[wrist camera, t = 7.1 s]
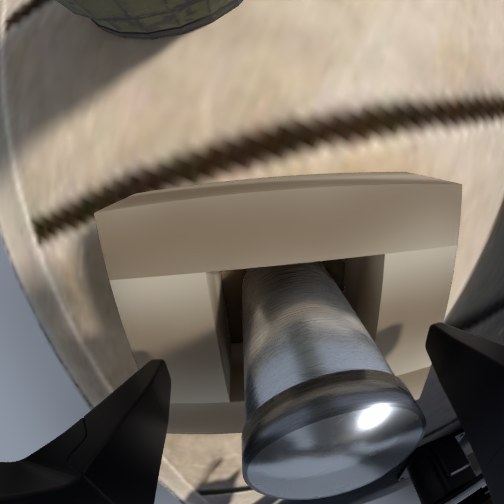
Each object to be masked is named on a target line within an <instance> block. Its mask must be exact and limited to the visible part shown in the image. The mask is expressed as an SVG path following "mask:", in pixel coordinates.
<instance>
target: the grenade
mask: <svg viewBox="0 0 504 504" xmlns="http://www.w3.org/2000/svg"><path fill="white" fill-rule="evenodd" d="M56 1H58V2H59V3H60V4H62V5H63V6H65V7H66V8H68V9H69V10H71V11H72V12H73V13H75V14H78V15H81V16H85V17H88V18H90V19H91V20H93V21H94V22H95V23H96V24H97V25H98V26H99V27H100V28H101V29H103V30H104V31H107V32H110V33H113V34H115V35H118V36H121V37H123V38H141V39H155V38H160V37H165V36H171V35H177V34H183V33H185V32H188V31H190V30H193V29H195V28H198V27H200V26H203V25H206V24H209V23H211V22H214V21H215V20H217V19H218V18H220V17H221V16H223V15H224V14H226V13H227V12H229V11H231V10H232V9H234V8H235V7H237V6H239V4H240V3H241V2H242V1H243V0H56Z"/></svg>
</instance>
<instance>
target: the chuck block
mask: <svg viewBox="0 0 504 504" xmlns="http://www.w3.org/2000/svg"><path fill="white" fill-rule="evenodd" d="M461 198H462V184H458V183H454V182H450V181H445V180H441V179H437V178H432V177H427V176H423V175H418V174H413V173H408V172H372V173H335V174H314V175H296V176H282V177H268V178H256V179H245V180H235V181H225V182H216V183H207V184H199V185H191V186H183V187H176V188H169V189H162V190H155V191H148V192H142V193H136V194H134V195H131V196H129V197H127V198H125V199H123V200H121V201H118V202H116V203H114V204H112V205H110V206H108V207H106V208H104V209H102V210H100V211H97V212H95V213H94V215H95V221H96V226H97V231H98V235H99V240H100V244H101V249H102V253H103V257H104V261H105V265H106V269H107V273H108V277H109V281H110V284H111V288H112V292H113V295H114V298H115V302H116V305H117V308H118V312H119V315H120V318H121V321H122V324H123V327H124V330H125V333H126V336H127V339H128V342H129V345H130V347H131V350H132V353H133V356H134V358H135V361H136V364H137V366H138V369H139V370H140V369H141V368H142V367H143V366H144V365H145V364H147V363H148V362H149V361H150V360H152V359H163V360H164V361H165V362H166V365H167V368H168V371H169V374H170V377H171V395H170V408H169V421H168V428H167V433H174V434H223V433H242V431H243V428H244V426H245V424H246V423H245V391H244V355H243V343H236V344H231V339H230V333H229V326H228V320H227V313H226V306H225V299H224V292H223V285H222V278H221V271H225V270H236V269H246V268H257V267H267V266H277V265H287V264H297V263H307V262H316V261H326V260H335V259H344V258H345V270H344V296H345V298H346V299H347V301H348V302H349V304H350V305H351V307H352V308H353V310H354V311H355V313H356V314H357V316H358V318H359V319H360V321H361V322H362V324H363V325H364V327H365V328H366V330H367V331H368V333H369V335H370V336H371V338H372V339H373V341H374V342H375V344H376V346H377V347H378V349H379V350H380V352H381V353H382V355H383V357H384V358H385V360H386V362H387V363H388V365H389V366H390V368H391V370H392V371H393V373H394V375H395V376H396V377H398V378H400V379H401V380H402V381H403V382H404V383H405V385H406V386H407V388H408V389H409V391H410V393H411V394H412V396H413V398H414V399H415V400H417V399H419V397H420V395H421V392H422V390H423V387H424V384H425V381H426V378H427V376H428V373H429V370H430V367H431V360H430V358H429V356H428V353H427V351H426V348H425V343H426V339H427V335H428V331H429V327H430V325H432V324H434V323H438V322H442V323H443V321H444V317H445V313H446V308H447V304H448V299H449V294H450V289H451V284H452V279H453V273H454V267H455V260H456V253H457V245H458V236H459V227H460V215H461Z"/></svg>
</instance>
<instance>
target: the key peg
mask: <svg viewBox="0 0 504 504" xmlns="http://www.w3.org/2000/svg"><path fill="white" fill-rule="evenodd" d="M242 313H243V355H244V391H245V423H246V424H245V426H244V428H243V431H242V473H243V478H244V480H245V482H246V483H247V485H248V486H249V487H251V488H252V489H253V490H255V491H257V492H259V493H261V494H264V495H266V496H270V497H274V498H279V499H288V500H308V499H318V498H324V497H330V496H334V495H338V494H342V493H345V492H349V491H352V490H354V489H357V488H360V487H362V486H365V485H367V484H369V483H371V482H373V481H375V480H377V479H379V478H381V477H382V476H384V475H386V474H387V473H389V472H390V471H392V470H393V469H395V468H396V467H397V466H399V465H400V464H401V463H402V462H403V461H405V460H406V459H407V458H408V457H409V456H410V455H411V454H412V453H413V452H414V450H415V449H416V448H417V447H418V445H419V444H420V442H421V440H422V438H423V436H424V434H425V430H426V419H425V416H424V415H423V413H422V411H421V409H420V408H419V406H418V404H417V403H416V401H415V399H414V398H413V396H412V394H411V393H410V391H409V389H408V388H407V386H406V385H405V383H404V382H403V381H402V380H401V379H400V378H398V377H396V376H395V375H394V373H393V371H392V370H391V368H390V366H389V365H388V363H387V362H386V360H385V358H384V357H383V355H382V353H381V352H380V350H379V349H378V347H377V346H376V344H375V342H374V341H373V339H372V338H371V336H370V335H369V333H368V331H367V330H366V328H365V327H364V325H363V324H362V322H361V321H360V319H359V318H358V316H357V314H356V313H355V311H354V310H353V308H352V307H351V305H350V304H349V302H348V301H347V299H346V298H345V296H344V295H343V293H342V292H341V290H340V289H339V287H338V286H337V284H336V283H335V282H334V280H333V279H332V277H331V276H330V274H329V273H328V271H327V270H326V268H325V267H324V266H323V264H322V263H321V261H316V262H307V263H297V264H287V265H277V266H267V267H257V268H248V270H247V272H246V274H245V276H244V279H243V283H242Z"/></svg>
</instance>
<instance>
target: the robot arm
mask: <svg viewBox="0 0 504 504" xmlns="http://www.w3.org/2000/svg"><path fill="white" fill-rule="evenodd" d="M425 348H426V351H427V353H428V356H429V358H430V360H431V363H432V365H433V367H434V370H435V372H436V375H437V377H438V379H439V382H440V384H441V386H442V388H443V390H444V392H445V393H446V395H447V397H448V399H449V401H450V403H451V405H452V407H453V409H454V411H455V413H456V415H457V417H458V419H459V421H460V423H461V425H462V428H463V430H461V431H458V432H456V433H454V434H452V435H450V436H448V437H445V438H443V439H441V440H438V441H436V442H434V443H431V444H429V445H426V446H424V447H421V448H419V449H416V450H415V451H414V452H413V453H412V454H411V456H410V457H409V459H408V461H407V463H406V464H405V466H404V467H403V469H402V471H401V472H400V474H399V475H398V477H397V479H398V481H401V480H404V479H406V478H409V477H410V478H411V480H412V483H413V485H414V487H415V489H416V492H417V494H418V497H419V499H420V502H421V504H455V503H457V502H458V501H460V500H461V499H463V498H464V497H466V496H467V495H469V494H470V493H472V492H473V491H475V490H476V489H478V488H479V487H480V486H482V485H483V484H484V483H486V484H487V486H485V487H484V488H480V489H478V490H477V491H476V492H474V493H473V494H471V495H470V496H468V497H467V498H466V499H464V500H462V501H461V502H459V503H457V504H504V346H502V345H500V344H497V343H494V342H492V341H489V340H487V339H484V338H481V337H479V336H476V335H473V334H471V333H468V332H465V331H463V330H460V329H458V328H455V327H452V326H450V325H447V324H444V323H442V322H438V323H434V324H432V325H430V327H429V331H428V335H427V339H426V343H425ZM170 395H171V377H170V374H169V371H168V368H167V365H166V362H165V361H164V360H163V359H152V360H150V361H149V362H148V363H147V364H145V365H144V366H143V367H142V368H141V369H140V370H138V371H137V372H136V373H135V374H134V375H133V376H131V377H130V378H129V379H128V380H127V381H126V382H124V383H123V384H122V385H121V386H120V387H118V388H117V389H116V390H115V391H114V392H113V393H111V394H110V395H109V396H108V397H107V398H105V399H104V400H103V401H102V402H101V403H100V404H98V405H97V406H96V407H95V408H94V409H92V410H91V411H90V412H89V413H88V414H86V415H85V416H84V418H82V419H80V420H79V421H78V422H77V423H75V424H74V425H73V426H72V427H70V428H69V429H68V430H67V431H65V432H64V433H63V434H61V435H60V436H58V437H57V438H56V439H54V440H53V441H51V442H50V443H48V444H47V445H45V446H43V447H42V448H40V449H39V450H38V451H36V452H34V453H33V454H31V455H30V456H28V457H26V458H24V459H22V460H20V461H16V462H0V504H154V500H155V494H156V488H157V482H158V476H159V470H160V465H161V459H162V454H163V449H164V443H165V438H166V433H167V428H168V421H169V408H170ZM465 434H466V436H467V438H468V441H469V443H470V445H471V447H472V450H473V452H474V454H475V456H476V459H477V461H478V464H479V466H480V468H481V471H482V473H481V474H479V475H478V476H476V474H475V472H474V471H473V469H472V467H471V463H470V461H469V459H468V458H467V456H466V454H465V452H464V451H463V449H462V447H461V446H460V444H459V442H460V441H461V439H462V438H463V436H464V435H465Z"/></svg>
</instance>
